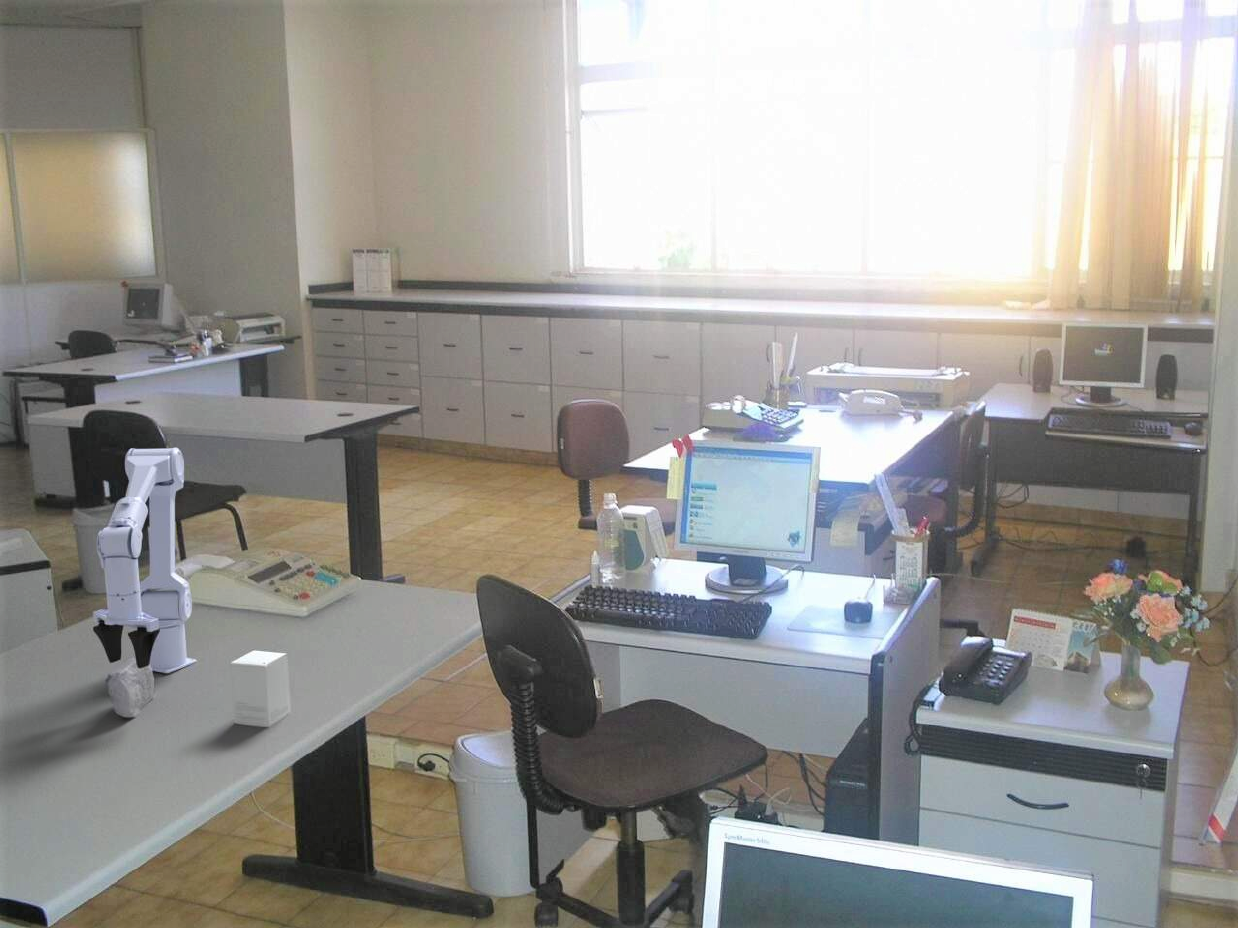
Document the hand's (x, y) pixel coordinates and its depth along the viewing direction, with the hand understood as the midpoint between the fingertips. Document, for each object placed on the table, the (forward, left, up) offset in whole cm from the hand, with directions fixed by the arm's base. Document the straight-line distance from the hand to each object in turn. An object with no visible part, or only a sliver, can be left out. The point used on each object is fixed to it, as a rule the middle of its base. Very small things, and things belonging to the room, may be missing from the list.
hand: (129, 663), depth 229 cm
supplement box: (+25, +7, -10) cm, 28 cm away
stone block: (0, 0, -10) cm, 10 cm away
